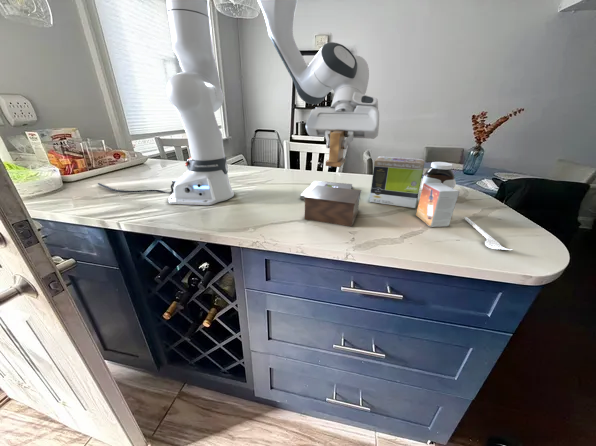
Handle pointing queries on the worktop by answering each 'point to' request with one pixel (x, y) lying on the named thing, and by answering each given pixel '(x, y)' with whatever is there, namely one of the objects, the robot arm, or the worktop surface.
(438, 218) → the small box
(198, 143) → the robot arm
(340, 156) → the wooden i-shaped block
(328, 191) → the wooden box
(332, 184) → the play button award
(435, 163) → the spread jar
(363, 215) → the worktop surface
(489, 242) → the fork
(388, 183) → the tea box
